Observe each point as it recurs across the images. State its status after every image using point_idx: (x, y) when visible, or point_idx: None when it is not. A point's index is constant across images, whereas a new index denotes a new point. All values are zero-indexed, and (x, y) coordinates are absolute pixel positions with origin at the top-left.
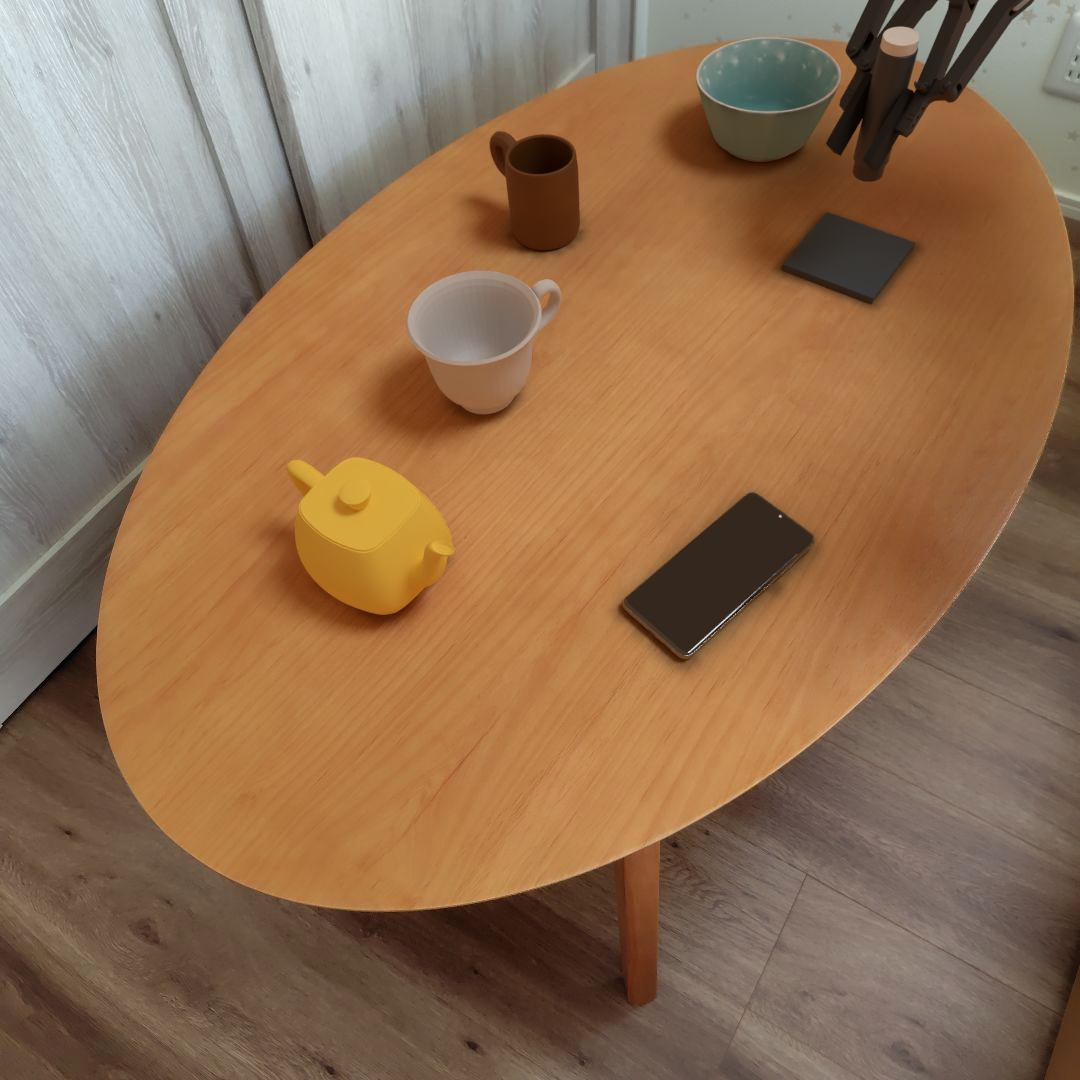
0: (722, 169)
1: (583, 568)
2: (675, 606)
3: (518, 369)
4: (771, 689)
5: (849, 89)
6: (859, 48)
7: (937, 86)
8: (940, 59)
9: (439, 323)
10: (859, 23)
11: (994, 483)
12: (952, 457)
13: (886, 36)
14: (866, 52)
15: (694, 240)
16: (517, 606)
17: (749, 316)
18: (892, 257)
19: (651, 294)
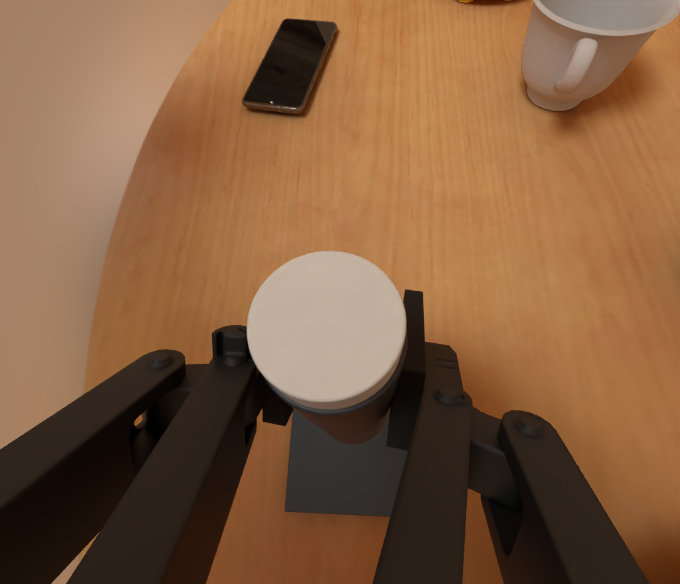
0: (659, 564)
1: (374, 36)
2: (304, 33)
3: (527, 33)
4: (234, 38)
5: (449, 368)
6: (504, 428)
7: (194, 376)
8: (182, 407)
9: (638, 27)
10: (594, 508)
11: (131, 217)
12: (168, 223)
13: (379, 283)
14: (468, 420)
15: (557, 366)
16: (393, 5)
17: (412, 281)
18: (302, 457)
19: (527, 256)
